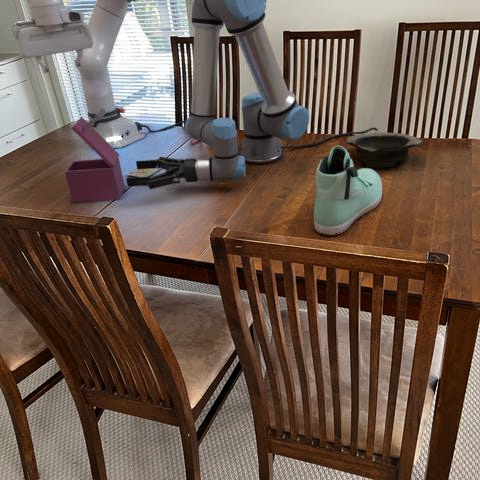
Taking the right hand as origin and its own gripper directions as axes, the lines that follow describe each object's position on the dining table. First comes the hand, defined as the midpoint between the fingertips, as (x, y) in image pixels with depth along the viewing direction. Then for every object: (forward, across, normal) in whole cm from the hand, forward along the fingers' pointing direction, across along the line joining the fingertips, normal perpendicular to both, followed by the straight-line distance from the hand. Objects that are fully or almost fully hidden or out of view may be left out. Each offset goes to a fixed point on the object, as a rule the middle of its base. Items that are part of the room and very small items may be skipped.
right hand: (132, 173), depth 155 cm
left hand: (+14, 0, +33) cm, 36 cm away
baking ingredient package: (-1, +19, -7) cm, 20 cm away
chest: (+12, 0, -7) cm, 14 cm away
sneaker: (-67, -18, -7) cm, 69 cm away
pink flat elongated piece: (-16, +50, -7) cm, 53 cm away
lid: (+10, 0, +11) cm, 14 cm away
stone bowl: (-84, +18, -7) cm, 86 cm away
